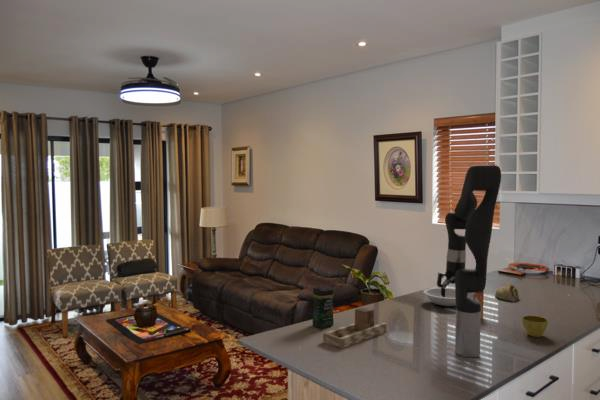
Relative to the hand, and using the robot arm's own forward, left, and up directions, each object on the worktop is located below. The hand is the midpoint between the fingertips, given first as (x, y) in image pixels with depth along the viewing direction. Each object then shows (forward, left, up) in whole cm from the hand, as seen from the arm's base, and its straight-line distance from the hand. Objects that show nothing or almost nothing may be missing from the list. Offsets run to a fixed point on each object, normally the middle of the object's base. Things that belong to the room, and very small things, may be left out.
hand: (453, 297), depth 199 cm
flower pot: (+7, -37, -19) cm, 42 cm away
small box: (+33, -19, -19) cm, 43 cm away
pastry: (+69, -50, -19) cm, 88 cm away
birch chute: (+3, +41, -18) cm, 45 cm away
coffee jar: (+18, +55, -19) cm, 61 cm away
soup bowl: (+55, -12, -19) cm, 59 cm away
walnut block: (+7, +37, -17) cm, 41 cm away
